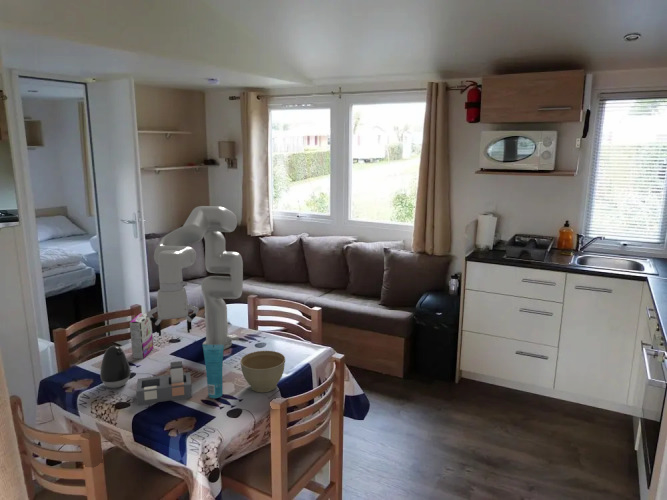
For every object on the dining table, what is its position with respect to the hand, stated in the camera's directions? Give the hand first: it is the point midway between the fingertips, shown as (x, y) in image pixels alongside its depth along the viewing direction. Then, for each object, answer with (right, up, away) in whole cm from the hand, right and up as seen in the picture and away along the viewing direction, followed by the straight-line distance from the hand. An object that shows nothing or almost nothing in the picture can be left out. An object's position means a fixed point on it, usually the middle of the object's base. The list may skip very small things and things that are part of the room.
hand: (174, 333), depth 174 cm
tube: (+14, -23, +2) cm, 27 cm away
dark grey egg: (-24, -21, +9) cm, 33 cm away
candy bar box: (-25, -15, +37) cm, 47 cm away
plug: (0, -21, +4) cm, 21 cm away
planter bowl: (+30, -22, +9) cm, 38 cm away
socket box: (-4, -22, +2) cm, 23 cm away
